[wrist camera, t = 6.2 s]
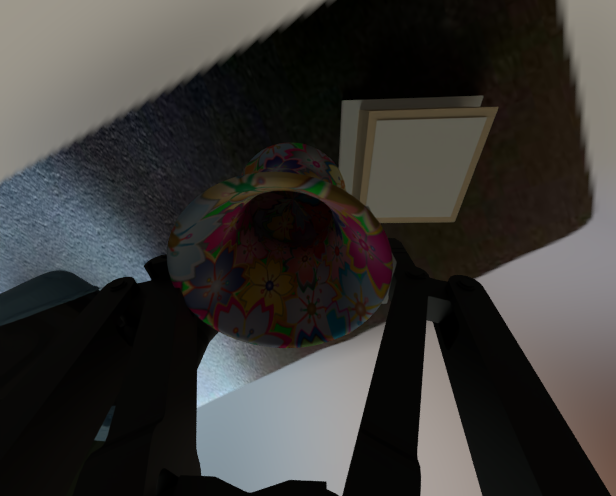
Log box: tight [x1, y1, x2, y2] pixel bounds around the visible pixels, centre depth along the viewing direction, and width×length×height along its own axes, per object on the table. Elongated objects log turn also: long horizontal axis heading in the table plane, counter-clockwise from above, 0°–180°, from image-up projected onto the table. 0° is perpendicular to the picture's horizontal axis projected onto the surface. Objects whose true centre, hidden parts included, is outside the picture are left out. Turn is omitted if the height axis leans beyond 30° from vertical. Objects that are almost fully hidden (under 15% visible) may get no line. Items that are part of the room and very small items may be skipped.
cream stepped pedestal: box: [339, 96, 498, 223], centre depth 27 cm, size 16×14×7 cm
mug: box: [167, 143, 393, 348], centre depth 14 cm, size 12×9×11 cm
